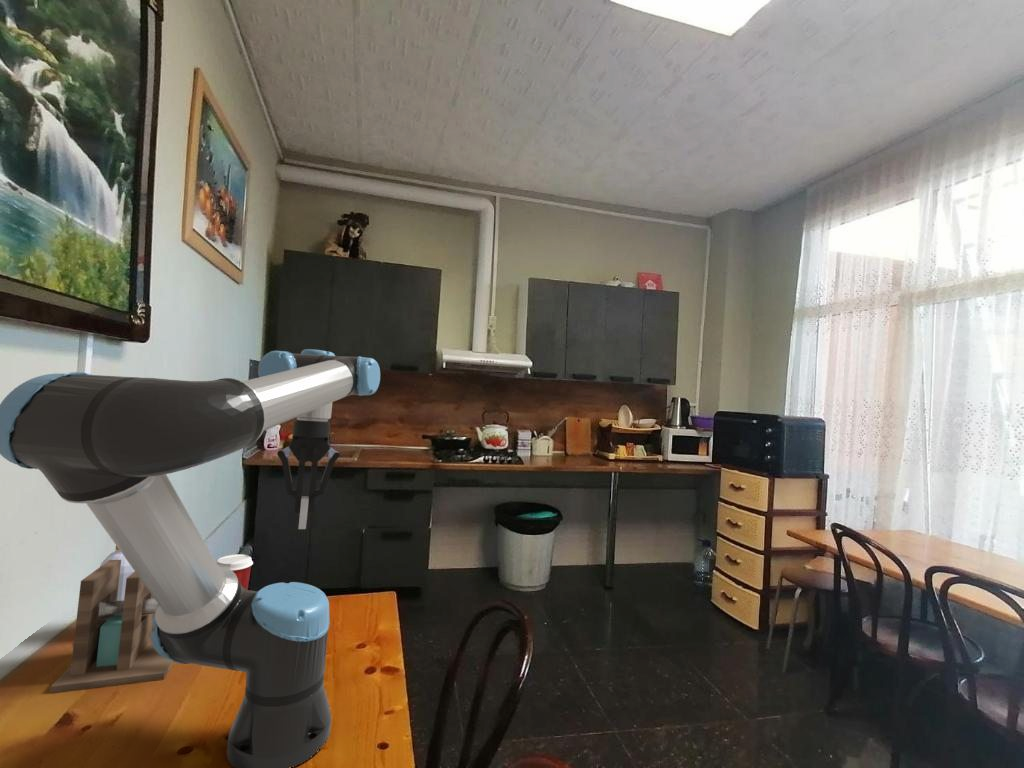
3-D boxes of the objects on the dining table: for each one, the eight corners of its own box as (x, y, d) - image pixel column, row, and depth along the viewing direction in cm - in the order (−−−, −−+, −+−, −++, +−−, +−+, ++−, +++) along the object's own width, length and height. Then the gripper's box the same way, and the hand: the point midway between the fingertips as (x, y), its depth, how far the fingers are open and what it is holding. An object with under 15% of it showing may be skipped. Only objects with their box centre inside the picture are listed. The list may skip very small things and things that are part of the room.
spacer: (119, 664, 91) (123, 625, 91) (96, 666, 90) (100, 627, 90) (134, 645, 98) (138, 608, 98) (113, 647, 96) (117, 610, 97)
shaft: (195, 621, 96) (198, 594, 97) (86, 631, 90) (89, 602, 90) (202, 610, 101) (205, 584, 102) (99, 618, 95) (102, 590, 95)
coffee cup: (236, 611, 118) (241, 551, 119) (254, 620, 114) (260, 558, 115) (200, 623, 111) (207, 559, 112) (219, 633, 107) (225, 567, 108)
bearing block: (163, 679, 89) (173, 581, 90) (49, 693, 83) (61, 587, 84) (190, 634, 106) (198, 552, 107) (97, 643, 100) (107, 556, 101)
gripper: (342, 420, 109) (333, 522, 108) (281, 417, 104) (270, 524, 102) (344, 422, 102) (334, 530, 101) (278, 418, 97) (267, 533, 96)
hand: (302, 527), depth 102 cm, fingers closed
